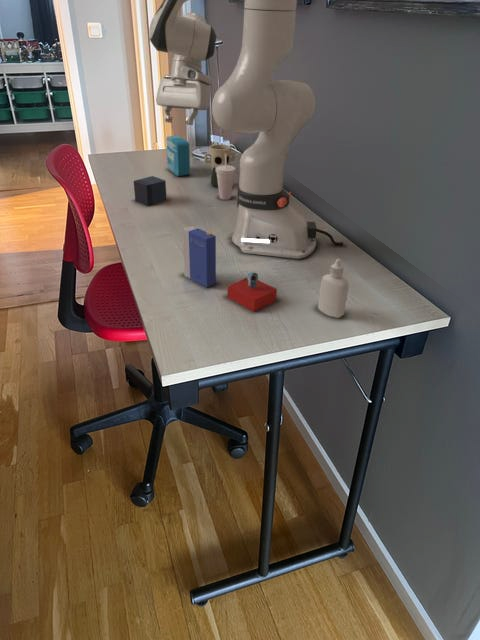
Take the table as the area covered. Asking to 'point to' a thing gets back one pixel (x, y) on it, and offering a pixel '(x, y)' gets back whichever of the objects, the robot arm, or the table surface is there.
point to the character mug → (218, 159)
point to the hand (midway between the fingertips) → (178, 123)
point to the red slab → (252, 292)
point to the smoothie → (225, 179)
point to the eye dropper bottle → (333, 292)
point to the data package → (178, 155)
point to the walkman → (200, 256)
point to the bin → (150, 190)
